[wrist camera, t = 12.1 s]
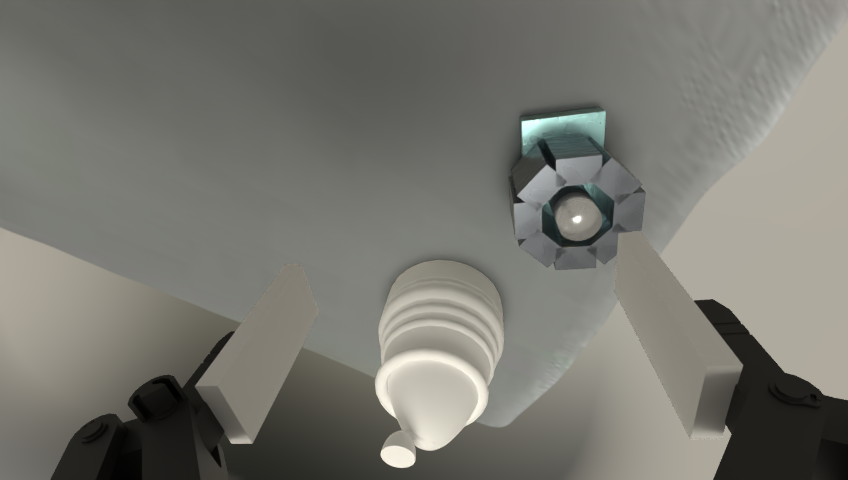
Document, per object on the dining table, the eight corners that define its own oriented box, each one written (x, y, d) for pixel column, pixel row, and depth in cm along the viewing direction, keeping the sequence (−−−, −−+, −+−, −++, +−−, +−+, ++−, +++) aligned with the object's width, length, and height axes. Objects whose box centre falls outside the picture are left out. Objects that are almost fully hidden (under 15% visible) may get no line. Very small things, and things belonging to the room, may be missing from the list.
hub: (506, 142, 33) (511, 164, 28) (622, 129, 32) (650, 150, 26) (511, 237, 37) (516, 272, 32) (614, 230, 36) (637, 265, 30)
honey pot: (383, 340, 48) (336, 492, 33) (393, 250, 42) (340, 385, 26) (488, 359, 48) (492, 525, 32) (514, 271, 41) (534, 423, 26)
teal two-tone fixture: (519, 116, 34) (531, 144, 26) (599, 106, 33) (636, 132, 25) (524, 239, 39) (535, 293, 32) (592, 235, 38) (621, 289, 30)
